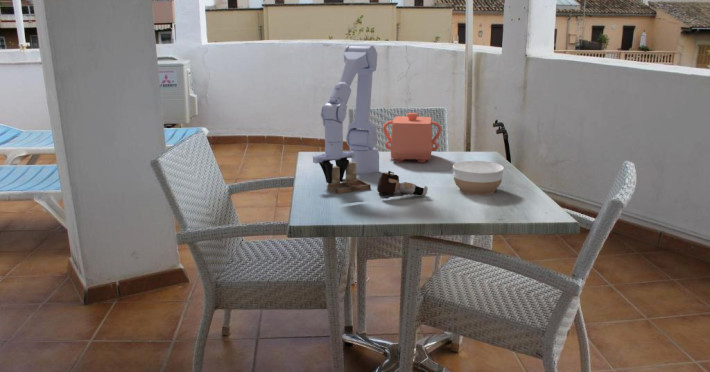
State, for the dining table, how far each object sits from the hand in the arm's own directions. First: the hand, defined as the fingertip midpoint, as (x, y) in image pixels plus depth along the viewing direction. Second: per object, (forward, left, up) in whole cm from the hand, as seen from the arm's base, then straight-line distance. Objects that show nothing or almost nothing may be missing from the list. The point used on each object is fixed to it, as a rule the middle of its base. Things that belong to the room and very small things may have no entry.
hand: (334, 181), depth 196 cm
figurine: (-14, +20, -2) cm, 24 cm away
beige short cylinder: (-6, 0, -1) cm, 6 cm away
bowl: (-39, +24, -2) cm, 46 cm away
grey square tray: (-6, 0, -2) cm, 6 cm away
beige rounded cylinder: (0, 0, -2) cm, 2 cm away
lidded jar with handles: (-46, -27, -2) cm, 53 cm away
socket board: (-2, +7, -2) cm, 7 cm away
